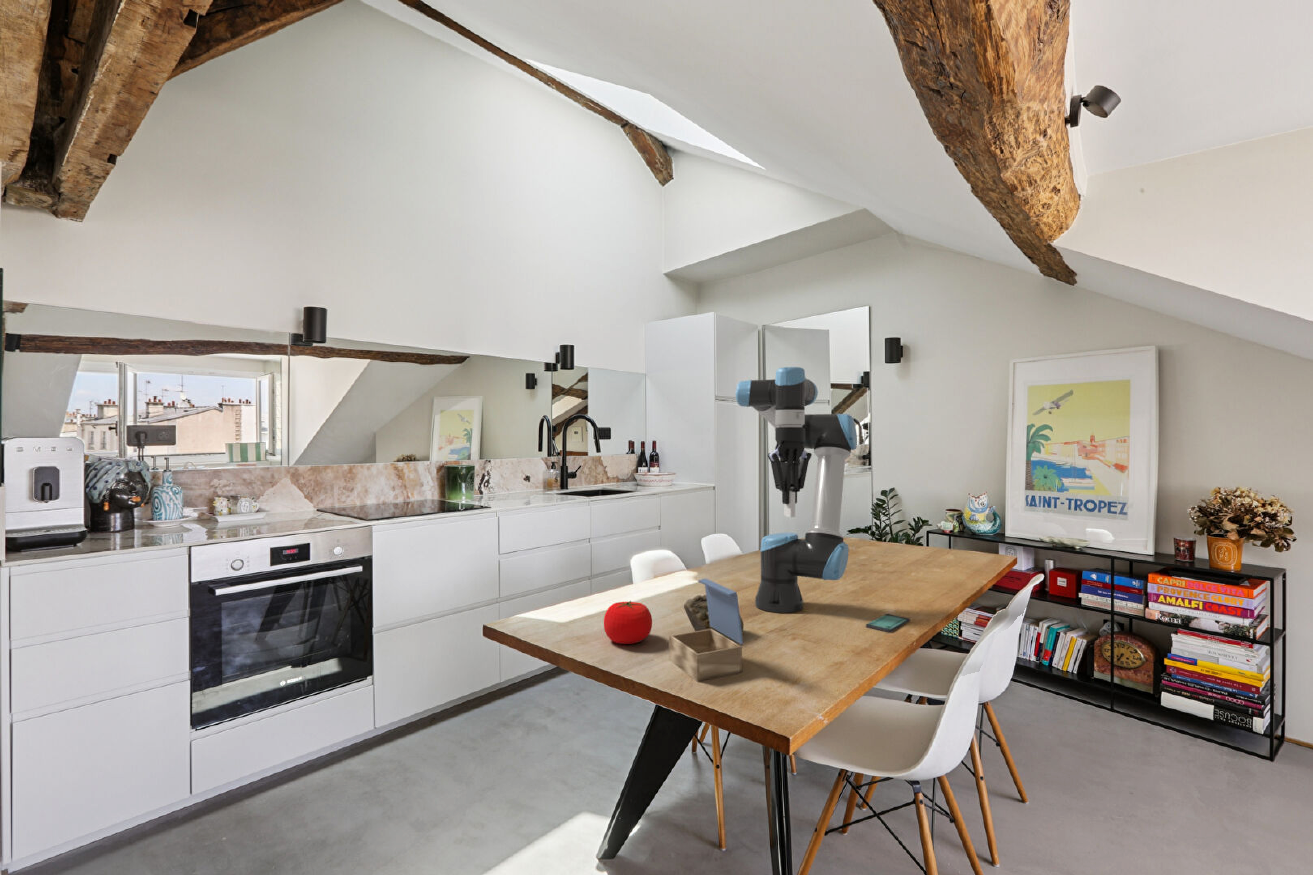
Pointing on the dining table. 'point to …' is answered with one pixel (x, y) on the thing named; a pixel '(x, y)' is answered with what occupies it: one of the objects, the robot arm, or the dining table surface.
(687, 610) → the stone
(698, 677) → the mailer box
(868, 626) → the smartphone
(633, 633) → the tomato
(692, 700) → the dining table surface
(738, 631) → the lid
